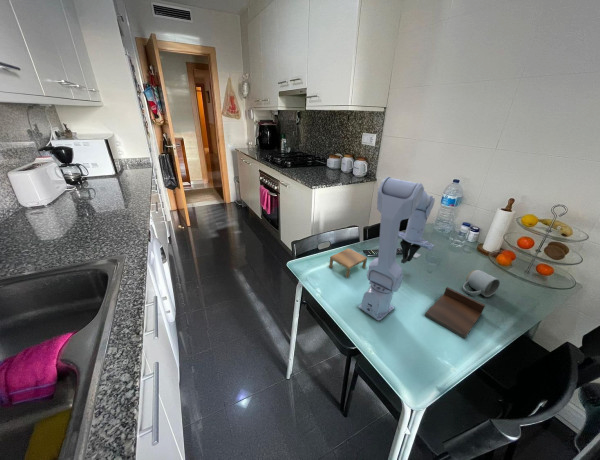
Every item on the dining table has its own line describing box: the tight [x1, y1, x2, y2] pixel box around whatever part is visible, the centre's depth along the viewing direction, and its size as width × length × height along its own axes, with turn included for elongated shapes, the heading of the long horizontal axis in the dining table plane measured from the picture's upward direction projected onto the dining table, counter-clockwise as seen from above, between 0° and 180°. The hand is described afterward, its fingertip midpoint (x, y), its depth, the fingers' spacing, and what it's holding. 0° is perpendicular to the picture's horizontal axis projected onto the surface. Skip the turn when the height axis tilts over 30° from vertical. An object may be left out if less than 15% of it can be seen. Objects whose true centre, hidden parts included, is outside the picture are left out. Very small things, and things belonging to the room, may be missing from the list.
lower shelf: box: [424, 286, 486, 340], centre depth 82 cm, size 16×12×4 cm
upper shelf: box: [328, 247, 368, 279], centre depth 105 cm, size 12×10×5 cm
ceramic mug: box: [462, 269, 501, 298], centre depth 93 cm, size 11×8×8 cm
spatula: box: [400, 252, 422, 264], centre depth 96 cm, size 11×4×1 cm, turn 132°
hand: (407, 259), depth 94 cm, fingers closed on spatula, 1 cm apart
